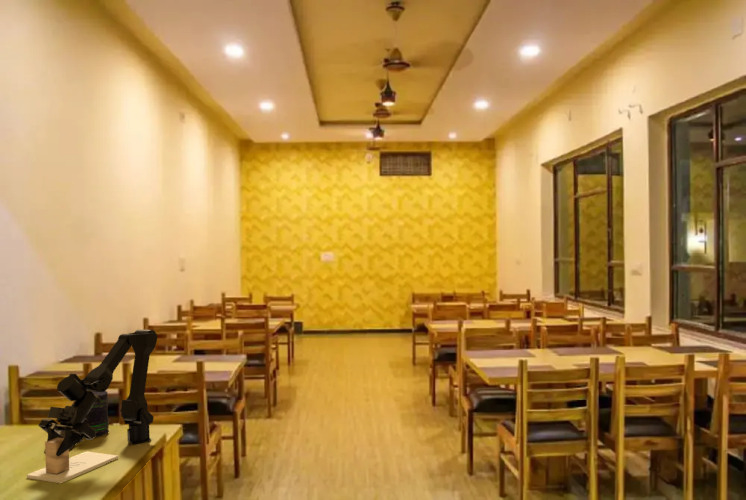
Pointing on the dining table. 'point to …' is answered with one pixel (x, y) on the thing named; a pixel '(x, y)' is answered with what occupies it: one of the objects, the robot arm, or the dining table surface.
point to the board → (75, 467)
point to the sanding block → (56, 457)
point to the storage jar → (99, 415)
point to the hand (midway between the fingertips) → (51, 454)
